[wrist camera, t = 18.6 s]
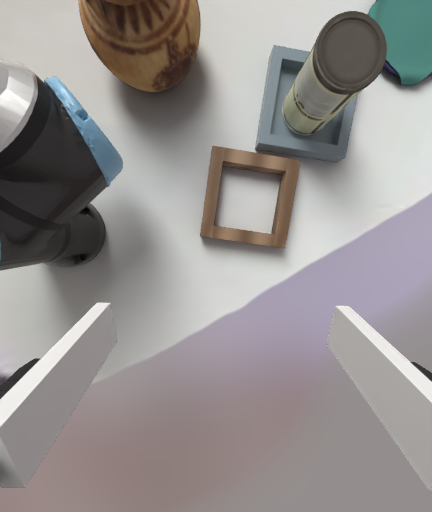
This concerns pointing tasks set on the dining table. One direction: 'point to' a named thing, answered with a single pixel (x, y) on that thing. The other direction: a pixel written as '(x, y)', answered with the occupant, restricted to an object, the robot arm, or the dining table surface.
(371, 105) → the dining table surface
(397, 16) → the cutlery set
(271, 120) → the tray
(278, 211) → the wooden square frame
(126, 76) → the clay pot
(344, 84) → the coffee can
